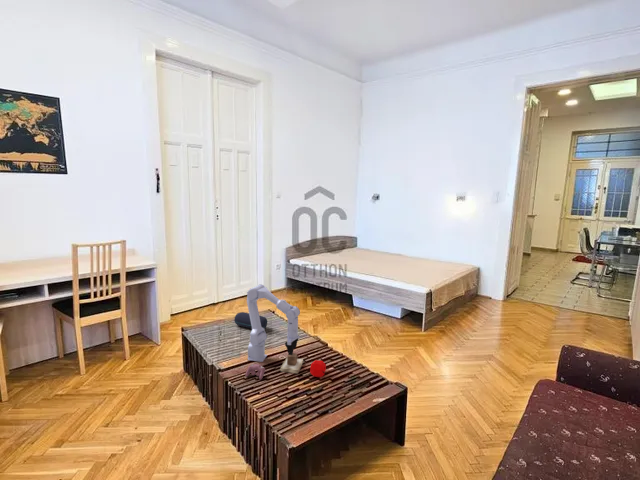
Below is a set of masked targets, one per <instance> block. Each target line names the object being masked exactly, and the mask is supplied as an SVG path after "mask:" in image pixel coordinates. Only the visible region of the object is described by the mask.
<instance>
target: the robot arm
mask: <svg viewBox="0 0 640 480" xmlns="http://www.w3.org/2000/svg"><path fill="white" fill-rule="evenodd" d="M246 294H247V296H246V297H247V298H246V304H247V309H248V313H249V315H250V321H251V326H252V329H251V332H250V333H249V336H250V338H249V343H248V347H247V359H248V360H247V361H252V362H253V361H254V362H261V363H262V362H264V361H265V359H266V358H267V356H268V355H267V354H266V353H265V351H266V350H265V347H266V346H265V343H266V340H267V338H268V334H267V333H266V331H265V330H266V329H265V330H264V328H262V327H261V322H260V317H259V315H260V313H259V308H258V307H259V306H258V300H259V299H266V300H267V301H269V302H271V303H272V304H274V305H276V308H277V309H278V310H279V311H281V313H283V314H285V317H286V318H287V336H286V339H287V341H285V343H284V345H285V347H286V350H287V354H289V355H292V354H293V353H294V349H297V346H298V342H299V339H300V338H301V337H300V335H299V334H298V332H299V315H300V313H301V310H300V309H299V307H298V306H295V305H292V304H290V303H288V302H287V301H286V300H285V299H279V298H278V296H275V295H274V294H273V293H272V292H271V291H269V289H268V287H267V286H265V285H264V284H258V285H256V286H254V287H252V288H249V289H248V290H247V291H246Z"/></svg>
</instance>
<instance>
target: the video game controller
mask: <svg viewBox="0 0 640 480" xmlns="http://www.w3.org/2000/svg"><path fill="white" fill-rule="evenodd" d="M256 371H257V372H256ZM265 372H266V368H265V367H264V366H262V365H261V364H255V363H254V364H250V365H249V366H248V368H247V370H246V372H245V377H246V378H247V377H248V376H249V375H250V374H251V375H252V376H255V375H256V376H257V377H259V380H260V381H261V380H262V379H263V377H264V376H265Z"/></svg>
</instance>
